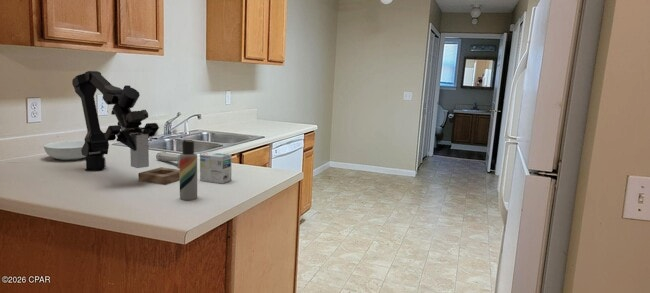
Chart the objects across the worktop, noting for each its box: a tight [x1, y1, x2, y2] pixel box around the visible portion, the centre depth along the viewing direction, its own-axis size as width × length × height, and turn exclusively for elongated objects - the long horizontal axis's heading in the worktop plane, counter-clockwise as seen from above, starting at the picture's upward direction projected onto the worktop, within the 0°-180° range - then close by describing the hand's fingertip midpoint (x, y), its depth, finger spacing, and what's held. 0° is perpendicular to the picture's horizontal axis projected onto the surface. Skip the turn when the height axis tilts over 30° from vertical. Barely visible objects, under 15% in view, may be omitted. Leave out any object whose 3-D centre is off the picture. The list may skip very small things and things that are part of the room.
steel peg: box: [129, 133, 150, 169], centre depth 161 cm, size 4×4×12 cm
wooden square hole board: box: [137, 166, 180, 186], centre depth 172 cm, size 12×12×3 cm
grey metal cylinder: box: [155, 151, 180, 169], centre depth 201 cm, size 5×7×25 cm
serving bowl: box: [43, 140, 90, 161], centre depth 203 cm, size 21×21×7 cm
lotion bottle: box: [178, 139, 198, 201], centre depth 147 cm, size 6×6×20 cm
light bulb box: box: [199, 151, 232, 184], centre depth 173 cm, size 11×7×11 cm, turn 71°
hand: (141, 149), depth 161 cm, fingers closed on steel peg, 4 cm apart
